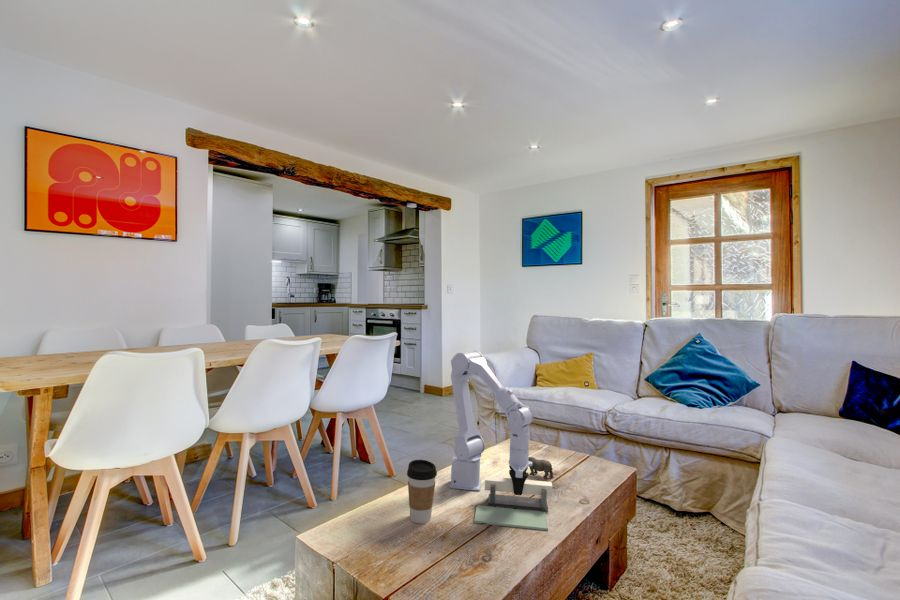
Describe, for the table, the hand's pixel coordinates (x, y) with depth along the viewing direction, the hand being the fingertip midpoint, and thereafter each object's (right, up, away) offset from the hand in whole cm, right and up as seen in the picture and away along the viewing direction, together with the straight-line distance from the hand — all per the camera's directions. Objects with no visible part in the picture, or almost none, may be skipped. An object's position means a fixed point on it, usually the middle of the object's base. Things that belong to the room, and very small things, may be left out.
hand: (517, 491), depth 130 cm
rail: (0, 0, 0) cm, 0 cm away
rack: (0, -4, 0) cm, 4 cm away
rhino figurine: (+9, -4, +23) cm, 25 cm away
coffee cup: (-29, -3, -10) cm, 31 cm away
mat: (-3, -4, -9) cm, 10 cm away
